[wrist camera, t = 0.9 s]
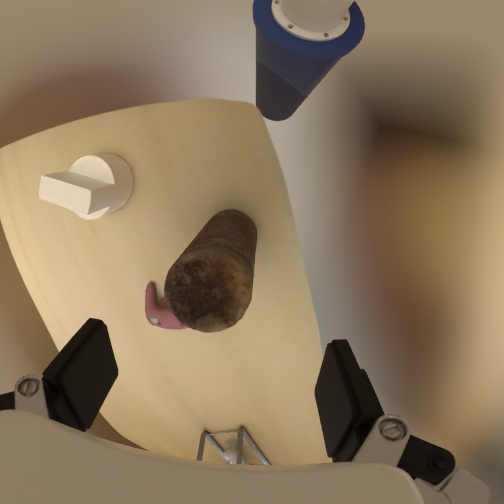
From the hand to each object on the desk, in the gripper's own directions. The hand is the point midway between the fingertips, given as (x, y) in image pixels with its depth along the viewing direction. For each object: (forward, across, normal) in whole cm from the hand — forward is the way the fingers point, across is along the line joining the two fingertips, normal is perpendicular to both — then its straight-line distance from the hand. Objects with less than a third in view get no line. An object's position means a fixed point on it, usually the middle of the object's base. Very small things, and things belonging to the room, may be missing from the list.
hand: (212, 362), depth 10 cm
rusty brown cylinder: (+31, +2, +3) cm, 31 cm away
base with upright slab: (+31, +21, -4) cm, 38 cm away
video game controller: (+31, +10, +14) cm, 35 cm away
